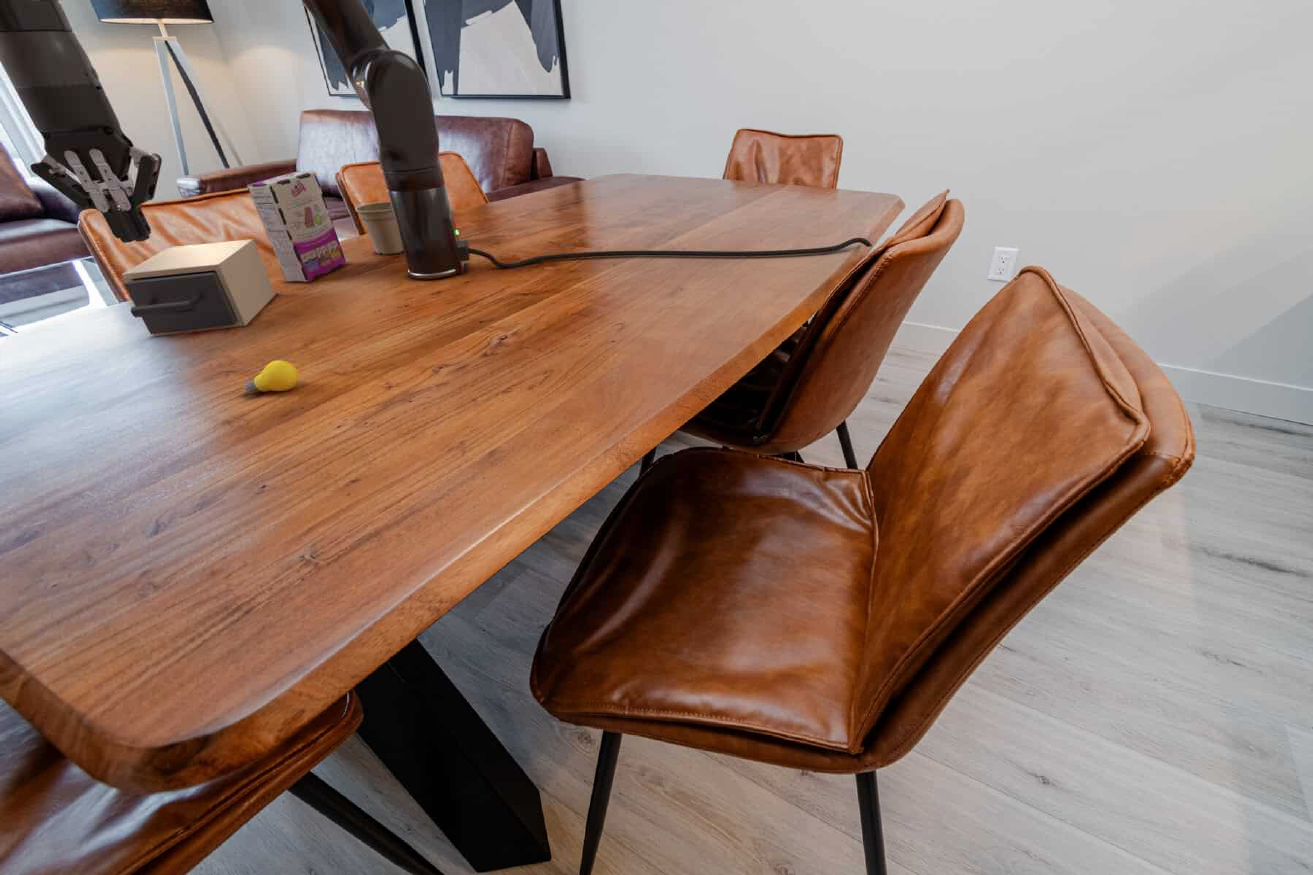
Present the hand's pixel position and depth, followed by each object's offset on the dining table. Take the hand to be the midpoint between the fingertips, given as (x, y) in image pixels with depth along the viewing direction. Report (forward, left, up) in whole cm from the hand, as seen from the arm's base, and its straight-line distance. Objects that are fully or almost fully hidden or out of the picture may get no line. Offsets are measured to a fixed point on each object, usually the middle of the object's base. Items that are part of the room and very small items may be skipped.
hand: (136, 240), depth 76 cm
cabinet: (0, -12, -14) cm, 18 cm away
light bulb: (-17, +20, -14) cm, 30 cm away
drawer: (0, -7, -13) cm, 15 cm away
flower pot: (-22, -41, -14) cm, 48 cm away
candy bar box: (-10, -30, -14) cm, 34 cm away
